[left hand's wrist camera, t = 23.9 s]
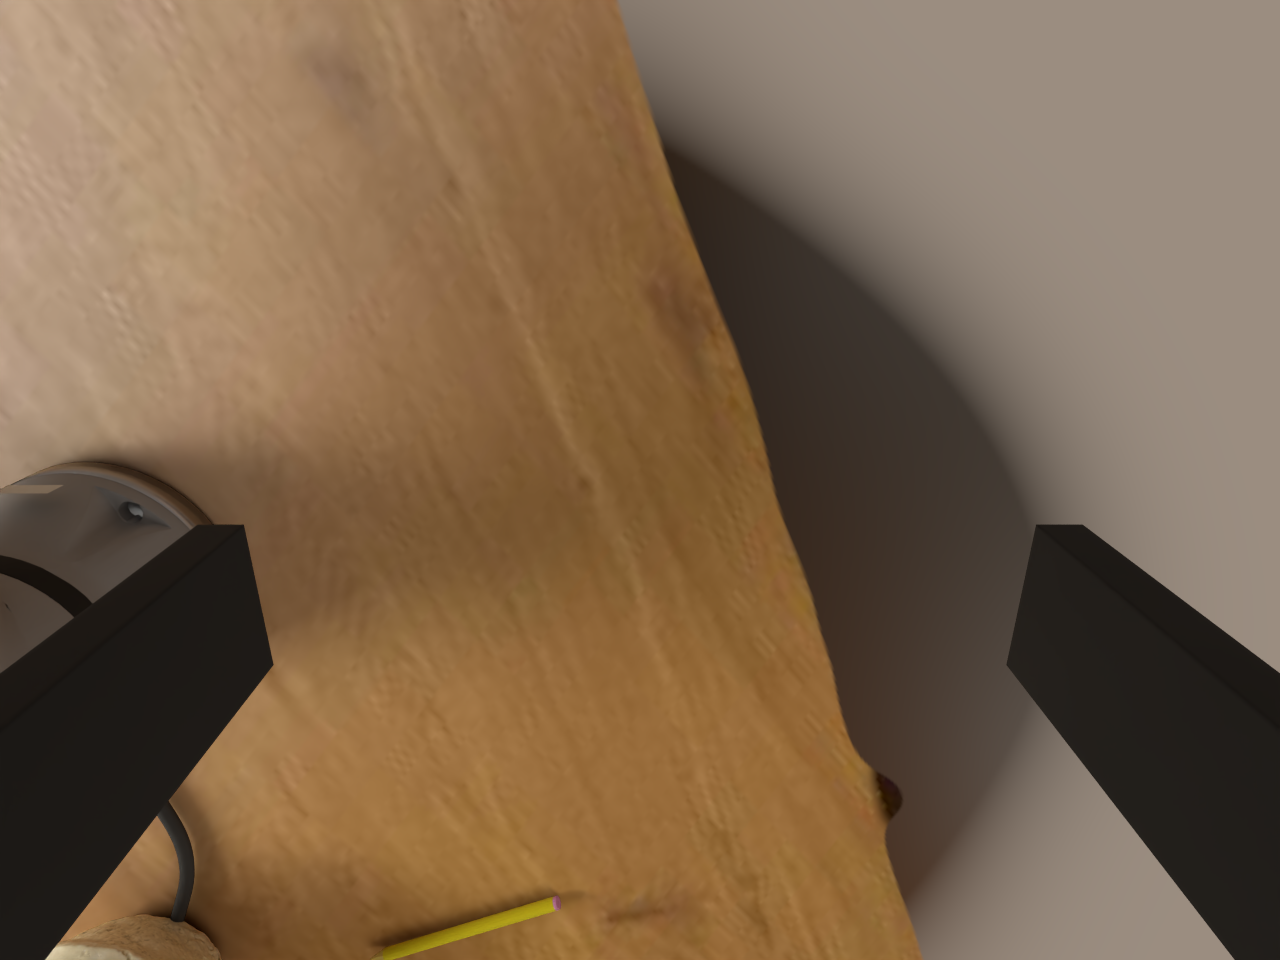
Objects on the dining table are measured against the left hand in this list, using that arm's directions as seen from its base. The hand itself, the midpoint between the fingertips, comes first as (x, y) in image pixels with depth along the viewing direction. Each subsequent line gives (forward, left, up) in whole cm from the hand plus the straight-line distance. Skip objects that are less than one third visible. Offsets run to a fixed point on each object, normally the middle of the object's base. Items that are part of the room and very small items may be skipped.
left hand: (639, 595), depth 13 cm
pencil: (-44, +22, -31) cm, 59 cm away
